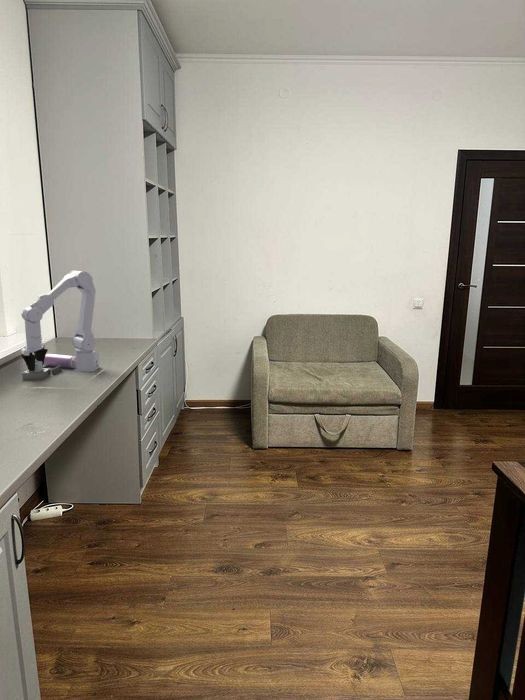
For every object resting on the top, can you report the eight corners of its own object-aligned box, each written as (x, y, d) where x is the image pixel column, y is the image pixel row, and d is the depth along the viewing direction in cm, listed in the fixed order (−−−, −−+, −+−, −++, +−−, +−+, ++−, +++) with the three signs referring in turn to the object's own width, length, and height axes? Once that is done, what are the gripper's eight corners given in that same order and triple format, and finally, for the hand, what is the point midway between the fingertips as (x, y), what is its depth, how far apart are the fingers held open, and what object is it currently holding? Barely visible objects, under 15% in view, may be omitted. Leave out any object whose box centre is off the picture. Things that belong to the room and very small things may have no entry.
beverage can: (41, 367, 217) (71, 370, 214) (41, 354, 217) (71, 357, 213) (50, 365, 223) (79, 368, 220) (50, 352, 222) (79, 355, 219)
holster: (61, 371, 212) (60, 365, 212) (54, 376, 206) (53, 369, 205) (46, 371, 213) (46, 364, 212) (39, 375, 206) (38, 368, 205)
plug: (43, 375, 203) (42, 360, 202) (38, 377, 199) (37, 362, 198) (33, 374, 203) (32, 359, 202) (29, 377, 199) (27, 362, 198)
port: (50, 376, 205) (50, 367, 204) (41, 381, 197) (41, 372, 196) (32, 375, 205) (31, 367, 204) (22, 381, 197) (21, 372, 197)
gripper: (32, 332, 204) (35, 363, 207) (14, 339, 190) (17, 372, 193) (49, 333, 204) (51, 364, 207) (32, 340, 190) (34, 373, 193)
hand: (36, 368), depth 200 cm, fingers open, 7 cm apart
